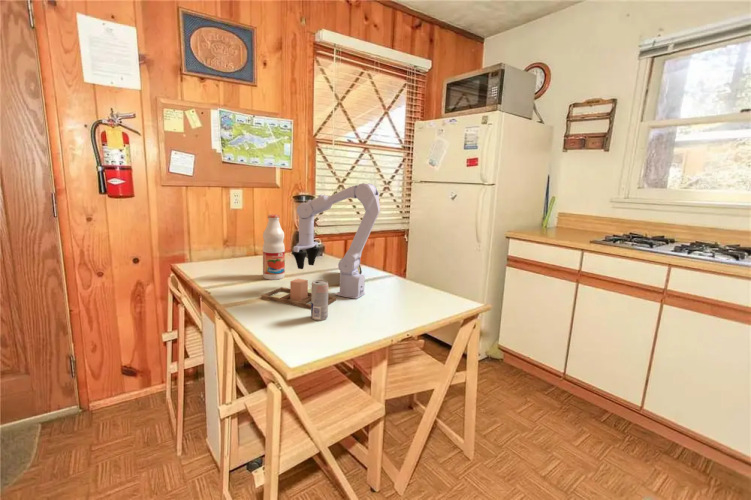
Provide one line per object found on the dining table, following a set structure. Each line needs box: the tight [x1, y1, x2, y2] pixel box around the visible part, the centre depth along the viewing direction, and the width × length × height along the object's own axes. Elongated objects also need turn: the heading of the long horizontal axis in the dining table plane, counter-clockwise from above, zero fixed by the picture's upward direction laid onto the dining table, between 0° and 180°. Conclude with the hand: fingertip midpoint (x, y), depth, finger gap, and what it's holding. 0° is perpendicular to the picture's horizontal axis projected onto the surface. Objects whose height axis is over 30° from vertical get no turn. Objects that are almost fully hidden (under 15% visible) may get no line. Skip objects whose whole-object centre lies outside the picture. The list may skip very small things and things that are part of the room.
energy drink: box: [310, 279, 329, 322], centre depth 117 cm, size 5×5×12 cm
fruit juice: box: [262, 214, 286, 281], centre depth 161 cm, size 9×9×28 cm
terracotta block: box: [289, 278, 309, 301], centre depth 135 cm, size 4×4×7 cm
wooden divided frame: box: [260, 286, 337, 309], centre depth 135 cm, size 25×12×1 cm, turn 67°
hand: (305, 266), depth 146 cm, fingers open, 7 cm apart
